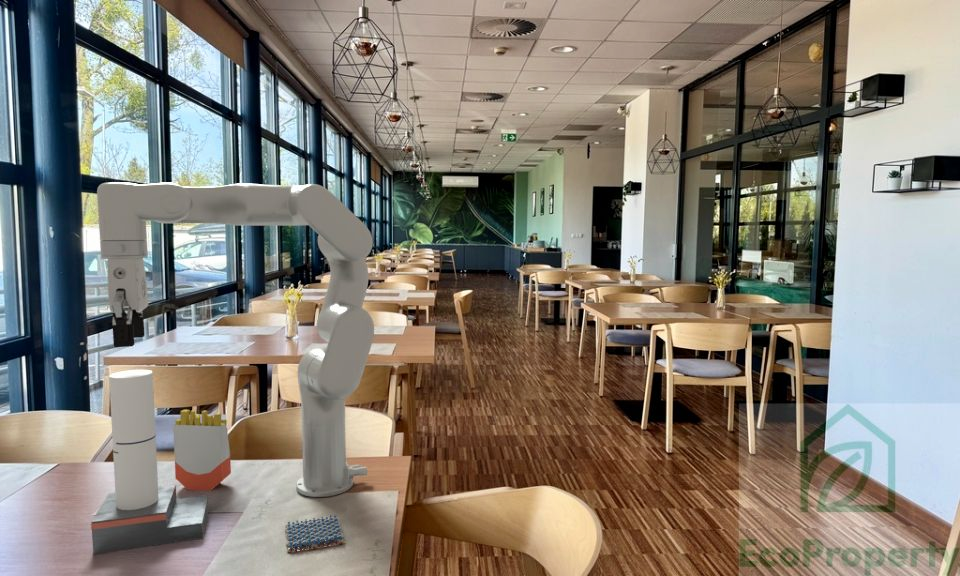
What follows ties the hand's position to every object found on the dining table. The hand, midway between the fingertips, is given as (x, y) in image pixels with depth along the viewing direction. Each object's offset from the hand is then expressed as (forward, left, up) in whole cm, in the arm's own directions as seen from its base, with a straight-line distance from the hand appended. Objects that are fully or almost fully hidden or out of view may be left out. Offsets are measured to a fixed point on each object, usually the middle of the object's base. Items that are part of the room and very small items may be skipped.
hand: (129, 341), depth 115 cm
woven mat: (-32, +13, -38) cm, 51 cm away
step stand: (-3, 0, -37) cm, 37 cm away
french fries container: (-10, -19, -37) cm, 43 cm away
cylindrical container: (0, 0, -31) cm, 31 cm away
